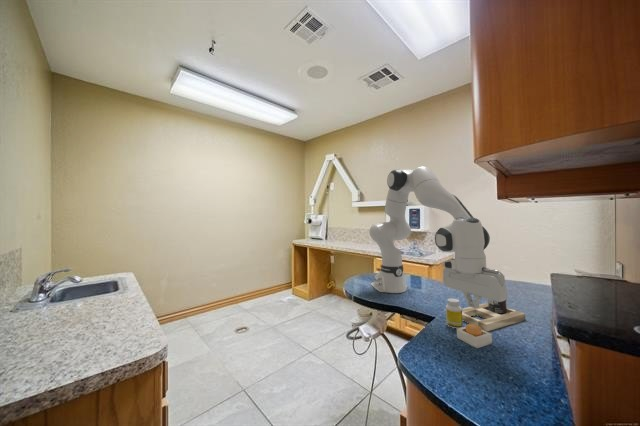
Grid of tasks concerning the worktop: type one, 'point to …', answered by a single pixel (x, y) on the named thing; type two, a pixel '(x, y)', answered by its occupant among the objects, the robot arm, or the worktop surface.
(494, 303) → the supplement bottle
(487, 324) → the frame
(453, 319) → the supplement bottle
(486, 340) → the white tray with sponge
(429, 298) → the worktop surface
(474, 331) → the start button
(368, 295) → the worktop surface
